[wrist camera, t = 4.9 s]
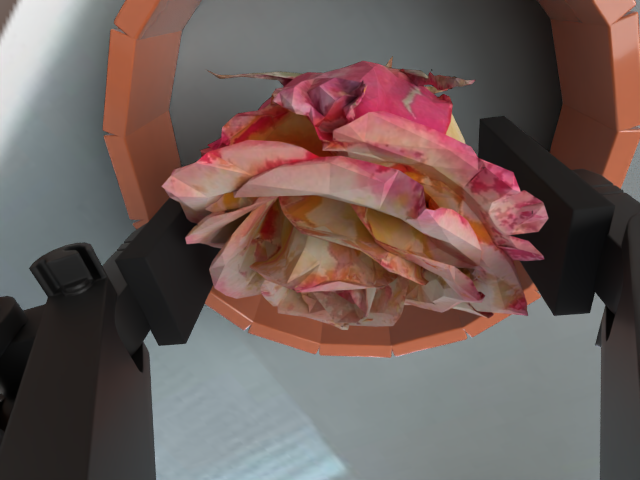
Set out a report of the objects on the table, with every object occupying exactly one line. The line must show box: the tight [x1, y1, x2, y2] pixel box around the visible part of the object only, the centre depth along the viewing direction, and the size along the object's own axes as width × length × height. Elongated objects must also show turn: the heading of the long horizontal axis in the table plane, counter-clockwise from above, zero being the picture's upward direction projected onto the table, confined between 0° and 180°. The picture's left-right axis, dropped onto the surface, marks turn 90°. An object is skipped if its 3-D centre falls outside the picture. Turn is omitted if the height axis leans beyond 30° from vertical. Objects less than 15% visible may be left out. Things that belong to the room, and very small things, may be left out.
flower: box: [161, 56, 548, 330], centre depth 12 cm, size 10×9×8 cm
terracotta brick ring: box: [103, 0, 640, 358], centre depth 16 cm, size 18×18×4 cm
